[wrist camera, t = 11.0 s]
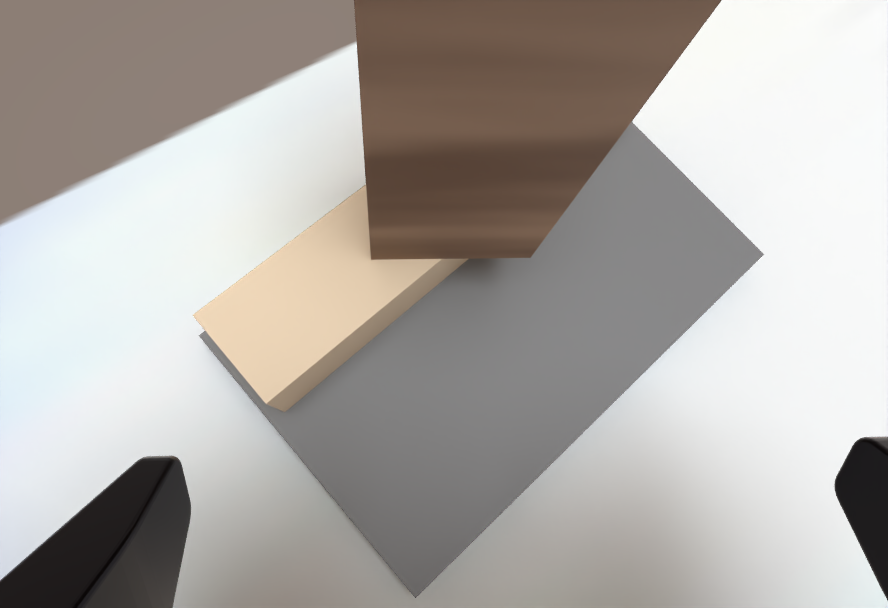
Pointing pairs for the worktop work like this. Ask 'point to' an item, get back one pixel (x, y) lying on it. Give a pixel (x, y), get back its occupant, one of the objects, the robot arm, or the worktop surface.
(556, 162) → the post
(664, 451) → the worktop surface
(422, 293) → the stand
